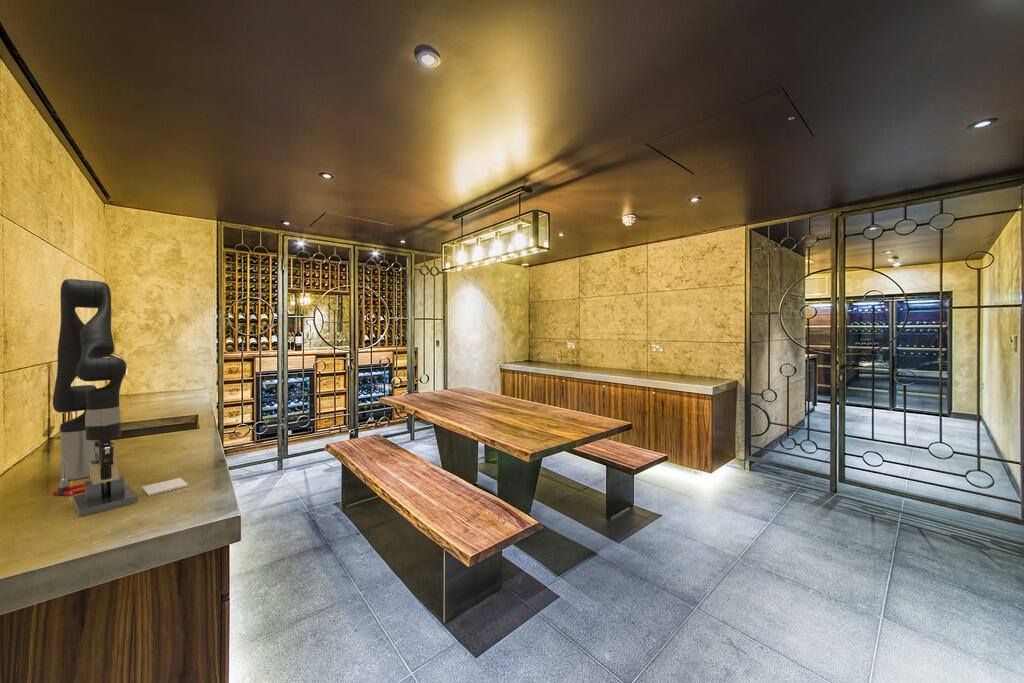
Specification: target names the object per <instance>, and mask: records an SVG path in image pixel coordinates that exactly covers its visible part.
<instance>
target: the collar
mask: <svg viewBox="0 0 1024 683" xmlns="http://www.w3.org/2000/svg"><path fill="white" fill-rule="evenodd" d="M104 461H106V462H109V459H106V460H104ZM113 462H114V464H113V465H112V466H111V474H112V477H111V478H110V479H106V480H101V468H100V461H98V460H94V461H90V476H89V481H91V483H92V485H94V484H99V483H104V482H108V481H113V480H118V479H119V475H120V461H119V458H118V457H116V456H114V457H113Z"/></svg>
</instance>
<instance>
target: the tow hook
mask: <svg viewBox="0 0 1024 683" xmlns="http://www.w3.org/2000/svg"><path fill="white" fill-rule="evenodd" d="M66 458H67V455H63V462H62V469H61V468H60V479H59V487H57V489H54V490H52V492H51V493H52V494H51V495H54V494H55V495H56V496H62V495H63V497H65V496H68V497H69V496H70V497H71V496H72V497H73V496H74V495H76V494H79V493H80V494H81V493H83V492H84V493H85V487H83V486H85V484H84V483H79V484H74V485H69V486H68V484H69V483H68V481H69V480H68V479H67V461H66ZM78 487H79V488H78ZM74 488H75V489H74ZM64 495H65V496H64Z"/></svg>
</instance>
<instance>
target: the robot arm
mask: <svg viewBox="0 0 1024 683" xmlns="http://www.w3.org/2000/svg"><path fill="white" fill-rule="evenodd" d="M76 308H83V309H84V308H86V309H97V311H96V313H95V314H94V315H93V316H92V317H91V318H90V319H89V320H88V321H87V322H86V323H84V322H83V321H82V320H81V318H80V317H79V316H78V313H77V310H76ZM58 335H59V336H58V342H57V364H56V366H57V367H56V378H55V383H54V388H53V394H52V406H53V410H54V411H55V412H57V413H71V412H72V413H73V412H81V411H84V412H83V413H81V414H79V416H77V417H74V418H72V419H70V420H67V421H65V422H62V423H61V424H60V425H59V436H60V437H59V438H60V439H59V440H60V442H59V443H60V444H59V445H60V470H61V469H62V462H63V455H67V458H66V461H67V479H68V481H72V480H79V479H80V480H81V479H85V478H90V461H94V460H98V461H100V468H101V480H106V479H110V478H111V477H112V474H111V466H112V465H113V464H114V462H113V457H115V454H114V449H115V443H113V441H111V440H112V439H113V438H118V437H120V436H121V435H122V419H121V418H122V415H121V408H120V391H121V385H122V383H123V380H124V377H125V375H126V372H127V362H126V361H125V360H124V359H123V358H121V357H119V356H118V357H116V356H115V357H109V356H111V355H113V354H114V353H115V343H114V339H113V338H114V337H113V333H112V294H111V289H110V287H109V285H108V283H106V282H104V281H98V280H87V279H75V278H74V279H73V278H66V279H64V280H63V281H62V283H61V285H60V327H59V334H58ZM77 378H78V379H79V380H81V381H83V382H99V381H100V382H101V381H103V382H105V381H109V382H108V383H107V384H106V385H104V386H102V387H98V388H97V386H96V385H94V384H85V385H83V384H82V385H72V384H73V382H74V380H76V379H77ZM106 459H109V462H104V460H106Z"/></svg>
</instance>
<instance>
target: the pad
mask: <svg viewBox="0 0 1024 683" xmlns="http://www.w3.org/2000/svg"><path fill="white" fill-rule="evenodd" d="M187 486H188V487H189V484H188V483H187V482H186V481H184V480H183V479H182V478H181V477H178V478H174V479H170V480H169V479H168V480H166V481H165V480H164V481H161V482H157V483H152V484H146V485H143V486H141V490H142V489H143V490H144V491H145V492H144V491H143V490H142V491H143V492H144V493H145V494H147V495H148V496H149V497H152V496H151V495H153V496H156V495H155V494H157V495H160V494H159V493H161V494H164V493H163V492H165V493H168V492H167V491H169V492H172V491H171V490H173V491H176V490H175V489H177V490H180V489H179V488H181V489H184V488H183V487H185V488H188V487H187ZM147 495H146V496H147ZM148 496H147V497H148Z"/></svg>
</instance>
